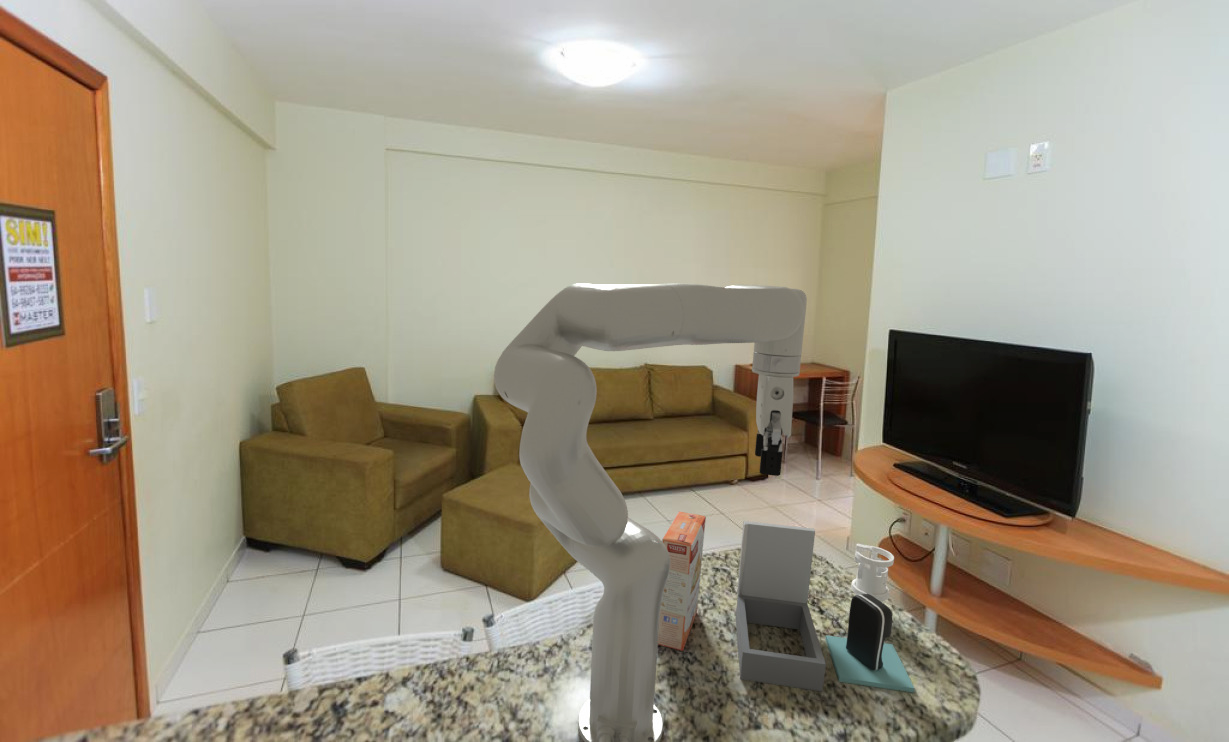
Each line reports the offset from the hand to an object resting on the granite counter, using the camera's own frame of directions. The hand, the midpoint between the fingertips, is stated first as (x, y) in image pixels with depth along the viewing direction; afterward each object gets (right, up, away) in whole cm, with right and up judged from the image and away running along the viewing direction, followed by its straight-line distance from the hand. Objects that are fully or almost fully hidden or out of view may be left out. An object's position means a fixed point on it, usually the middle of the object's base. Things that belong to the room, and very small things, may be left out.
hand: (766, 465), depth 96 cm
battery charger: (+20, -36, +7) cm, 42 cm away
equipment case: (+4, -36, +9) cm, 37 cm away
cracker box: (-13, -34, +15) cm, 39 cm away
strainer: (+26, -35, +21) cm, 49 cm away
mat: (+20, -37, +6) cm, 42 cm away
